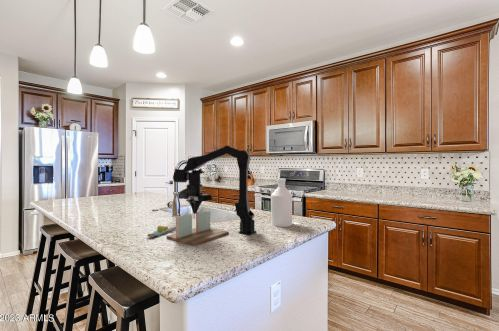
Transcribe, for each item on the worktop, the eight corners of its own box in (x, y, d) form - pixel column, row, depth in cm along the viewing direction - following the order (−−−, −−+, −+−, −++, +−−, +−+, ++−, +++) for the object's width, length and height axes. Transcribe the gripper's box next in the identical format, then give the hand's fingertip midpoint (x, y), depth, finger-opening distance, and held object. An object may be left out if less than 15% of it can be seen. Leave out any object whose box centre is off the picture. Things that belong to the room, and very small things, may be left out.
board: (228, 233, 128) (228, 231, 128) (194, 245, 110) (194, 242, 110) (202, 228, 139) (202, 226, 139) (166, 238, 121) (166, 235, 121)
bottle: (266, 224, 146) (266, 179, 146) (277, 220, 156) (277, 177, 155) (286, 227, 139) (286, 179, 139) (296, 223, 149) (296, 178, 149)
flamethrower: (138, 237, 123) (156, 240, 119) (138, 231, 123) (156, 234, 119) (177, 224, 150) (192, 226, 146) (177, 219, 150) (192, 222, 146)
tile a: (210, 228, 134) (210, 210, 134) (198, 231, 127) (198, 213, 127) (207, 228, 135) (207, 210, 135) (196, 231, 128) (195, 212, 128)
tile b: (192, 233, 124) (191, 214, 124) (178, 237, 118) (178, 217, 117) (189, 233, 125) (189, 214, 125) (175, 237, 119) (175, 217, 118)
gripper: (169, 182, 133) (169, 214, 133) (195, 184, 122) (195, 218, 122) (186, 181, 142) (187, 210, 142) (212, 182, 131) (212, 214, 131)
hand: (194, 213), depth 134 cm, fingers closed
